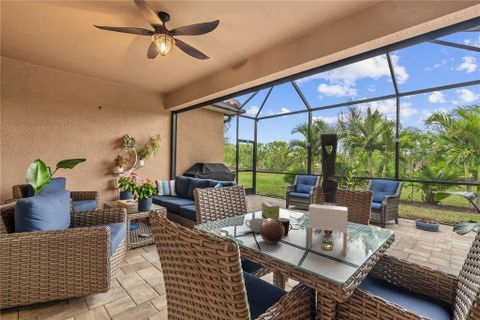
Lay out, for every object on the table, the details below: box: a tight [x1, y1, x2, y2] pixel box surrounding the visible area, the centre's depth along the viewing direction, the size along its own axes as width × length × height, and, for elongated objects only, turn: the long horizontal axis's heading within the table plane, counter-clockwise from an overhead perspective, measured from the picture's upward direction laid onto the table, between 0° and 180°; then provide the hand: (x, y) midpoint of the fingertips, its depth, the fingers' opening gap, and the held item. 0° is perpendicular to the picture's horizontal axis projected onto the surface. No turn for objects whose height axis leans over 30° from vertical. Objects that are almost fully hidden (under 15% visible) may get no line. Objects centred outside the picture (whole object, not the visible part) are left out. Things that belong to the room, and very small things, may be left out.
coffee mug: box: [278, 217, 293, 237], centre depth 153 cm, size 12×9×10 cm
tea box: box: [261, 201, 280, 220], centre depth 184 cm, size 15×10×15 cm
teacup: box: [244, 217, 264, 234], centre depth 160 cm, size 14×11×8 cm
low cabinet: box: [307, 203, 348, 256], centre depth 131 cm, size 10×20×24 cm, turn 67°
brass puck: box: [321, 243, 334, 251], centre depth 132 cm, size 6×6×2 cm
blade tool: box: [321, 230, 335, 246], centre depth 149 cm, size 22×7×6 cm, turn 157°
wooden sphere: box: [259, 218, 285, 245], centre depth 138 cm, size 15×15×15 cm
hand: (328, 233), depth 155 cm, fingers closed on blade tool, 2 cm apart
